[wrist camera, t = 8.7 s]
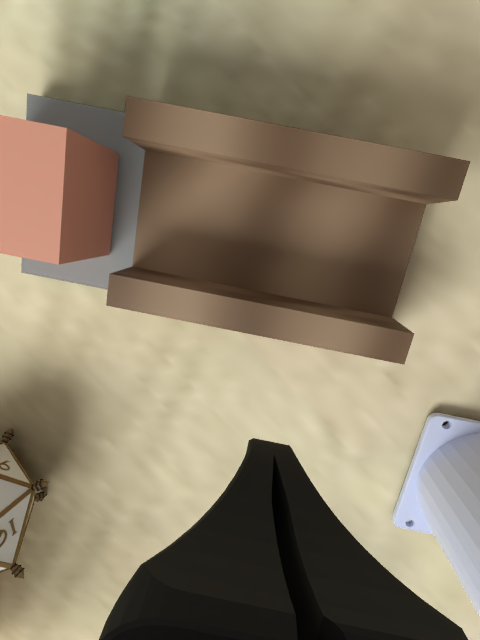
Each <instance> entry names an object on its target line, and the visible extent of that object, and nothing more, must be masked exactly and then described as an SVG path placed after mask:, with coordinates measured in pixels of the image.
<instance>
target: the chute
mask: <svg viewBox="0 0 480 640" xmlns="http://www.w3.org/2000/svg"><path fill="white" fill-rule="evenodd" d="M123 137H125V138H127V139H128V140H130V141H131V142H133V143H135V144H136V145H138V146H139V147H141V148H143V149H144V150H145V155H144V164H143V173H142V182H141V191H140V200H139V209H138V218H137V227H136V236H135V245H134V255H133V264H132V267H129V268H126V269H123V270H119V271H116V272H113V273H110V274H109V283H108V294H107V304H106V305H107V306H112V307H117V308H122V309H127V310H132V311H137V312H142V313H147V314H152V315H157V316H162V317H167V318H172V319H177V320H182V321H187V322H193V323H198V324H203V325H208V326H213V327H218V328H223V329H228V330H233V331H238V332H243V333H248V334H253V335H258V336H263V337H268V338H273V339H278V340H283V341H288V342H294V343H299V344H304V345H309V346H314V347H319V348H324V349H329V350H334V351H339V352H344V353H349V354H354V355H359V356H364V357H369V358H374V359H379V360H384V361H389V362H394V363H400V364H404V363H405V360H406V357H407V354H408V351H409V348H410V345H411V342H412V339H413V336H414V333H412V332H411V331H410V330H408V329H407V328H406V327H404V326H403V325H401V324H400V323H399V322H397V321H396V320H395V319H393V318H392V315H393V312H394V308H395V305H396V302H397V298H398V295H399V292H400V289H401V285H402V282H403V279H404V276H405V272H406V269H407V266H408V262H409V259H410V256H411V253H412V249H413V246H414V243H415V239H416V236H417V233H418V230H419V226H420V223H421V220H422V217H423V213H424V210H425V207H426V204H432V203H440V202H448V201H456V200H458V198H459V195H460V191H461V188H462V185H463V182H464V179H465V176H466V173H467V170H468V167H469V164H470V161H466V160H461V159H455V158H450V157H445V156H440V155H434V154H429V153H424V152H419V151H413V150H408V149H403V148H398V147H392V146H387V145H382V144H377V143H371V142H366V141H361V140H356V139H350V138H345V137H340V136H335V135H330V134H324V133H319V132H314V131H309V130H303V129H298V128H293V127H288V126H282V125H277V124H272V123H267V122H261V121H256V120H251V119H246V118H240V117H235V116H230V115H225V114H219V113H214V112H209V111H204V110H198V109H193V108H188V107H183V106H177V105H172V104H167V103H162V102H156V101H151V100H146V99H141V98H135V97H130V96H126V104H125V115H124V125H123Z"/></svg>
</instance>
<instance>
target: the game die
mask: <svg viewBox="0 0 480 640" xmlns="http://www.w3.org/2000/svg"><path fill="white" fill-rule="evenodd" d="M4 433H5V434H4V436H2V437H3V439H2V441H0V572H2V571H5V570H8V569H11V571H12V574H14V575H15V577H19V578H24V568H22V567H21V565H17V564H16V560H17V557H18V554H19V551H20V547H21V544H22V541H23V537H24V534H25V531H26V528H27V524H28V521H29V518H30V515H31V511H32V508H33V505H34V501H37V502H38V501H42V500H43V499H44V497H46V496H47V495H46V494H44V492H40V493H36V495H35V490H37V491H39V490H40V489H41V490H42V489H44V488H45V487H46V485H47V484H48V483H49V482H48V481H44V480H43V479H40V481H36V483H35V484H34V483H33V482H32V480H31V479H30V477H29V476H28V474H27V473H26V471H25V470H24V468H23V467H22V465H21V464H20V462H19V461H18V459H17V458H16V456H15V454H14V453H13V451H12V450H11V448H10V447H9V445H8V444H7V443H8V441H9V440H11V437H12V436H14V435H13V431H12V429H10V430H8V431H7V432H4Z"/></svg>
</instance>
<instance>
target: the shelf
mask: <svg viewBox="0 0 480 640" xmlns="http://www.w3.org/2000/svg"><path fill="white" fill-rule="evenodd" d="M124 115H125V112H121V111H116V110H110V109H105V108H100V107H95V106H90V105H84V104H79V103H74V102H69V101H63V100H58V99H53V98H48V97H42V96H37V95H32V94H27V117H26V120H28V121H33V122H38V123H44V124H49V125H54V126H59V127H64V128H68V129H70V130H72V131H74V132H76V133H78V134H80V135H82V136H84V137H86V138H88V139H90V140H92V141H94V142H96V143H98V144H100V145H102V146H105V147H107V148H109V149H111V150H113V151H115V152H117V153H119V161H118V172H117V182H116V193H115V204H114V214H113V225H112V236H111V246H110V255H106V256H101V257H96V258H90V259H85V260H80V261H75V262H70V263H65V264H60V265H58V264H53V263H48V262H43V261H38V260H32V259H27V258H22V271H21V272H22V273H27V274H32V275H37V276H42V277H47V278H52V279H57V280H62V281H67V282H72V283H77V284H82V285H87V286H93V287H98V288H103V289H108V283H109V274H110V273H113V272H116V271H119V270H123V269H126V268H129V267H132V264H133V255H134V245H135V236H136V227H137V218H138V209H139V200H140V191H141V182H142V173H143V164H144V155H145V150H144V149H143V148H141V147H139V146H138V145H136V144H135V143H133V142H131V141H130V140H128V139H127V138H125V137H123V125H124Z"/></svg>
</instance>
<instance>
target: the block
mask: <svg viewBox="0 0 480 640" xmlns="http://www.w3.org/2000/svg"><path fill="white" fill-rule="evenodd" d="M118 161H119V153H117V152H115V151H113V150H111V149H109V148H107V147H105V146H102V145H100V144H98V143H96V142H94V141H92V140H90V139H88V138H86V137H84V136H82V135H80V134H78V133H76V132H74V131H72V130H70V129H68V128H64V127H59V126H54V125H49V124H44V123H38V122H33V121H28V120H23V119H18V118H12V117H7V116H2V115H0V253H2V254H7V255H12V256H17V257H22V258H27V259H32V260H38V261H43V262H48V263H53V264H58V265H60V264H65V263H70V262H75V261H80V260H85V259H90V258H96V257H101V256H106V255H110V246H111V236H112V225H113V214H114V204H115V193H116V182H117V172H118Z"/></svg>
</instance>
